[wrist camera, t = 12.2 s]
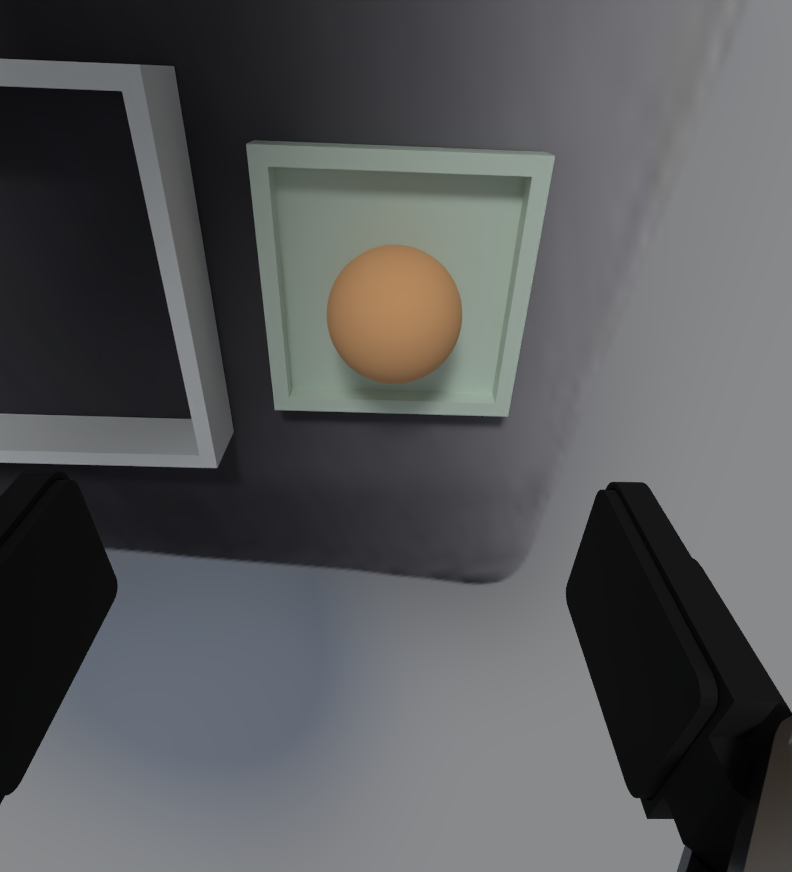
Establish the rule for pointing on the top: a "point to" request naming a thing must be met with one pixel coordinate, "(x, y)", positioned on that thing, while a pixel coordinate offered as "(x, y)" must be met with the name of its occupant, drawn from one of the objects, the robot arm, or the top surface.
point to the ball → (394, 314)
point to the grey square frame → (181, 275)
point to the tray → (396, 225)
